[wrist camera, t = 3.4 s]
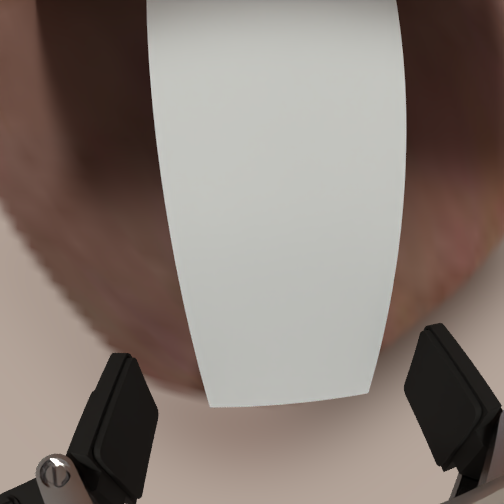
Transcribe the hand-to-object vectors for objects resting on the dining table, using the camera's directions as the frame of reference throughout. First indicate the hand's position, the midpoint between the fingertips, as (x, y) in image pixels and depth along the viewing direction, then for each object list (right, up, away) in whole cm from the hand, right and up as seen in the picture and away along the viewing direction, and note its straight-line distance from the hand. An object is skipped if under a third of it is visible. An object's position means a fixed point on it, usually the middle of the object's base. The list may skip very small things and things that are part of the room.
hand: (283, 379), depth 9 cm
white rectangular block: (0, +8, +2) cm, 8 cm away
